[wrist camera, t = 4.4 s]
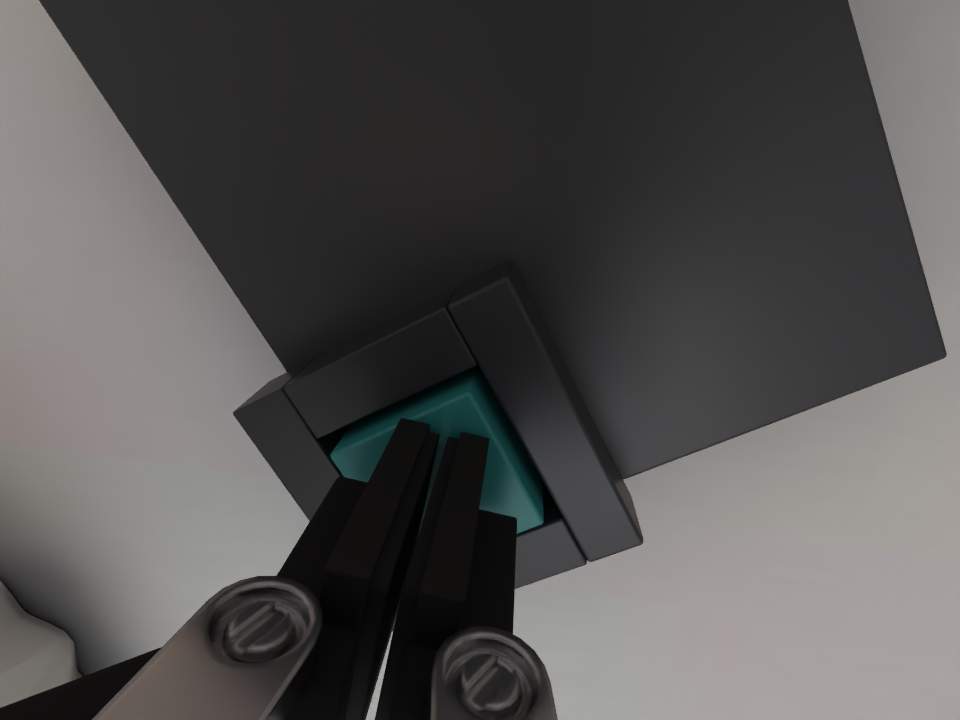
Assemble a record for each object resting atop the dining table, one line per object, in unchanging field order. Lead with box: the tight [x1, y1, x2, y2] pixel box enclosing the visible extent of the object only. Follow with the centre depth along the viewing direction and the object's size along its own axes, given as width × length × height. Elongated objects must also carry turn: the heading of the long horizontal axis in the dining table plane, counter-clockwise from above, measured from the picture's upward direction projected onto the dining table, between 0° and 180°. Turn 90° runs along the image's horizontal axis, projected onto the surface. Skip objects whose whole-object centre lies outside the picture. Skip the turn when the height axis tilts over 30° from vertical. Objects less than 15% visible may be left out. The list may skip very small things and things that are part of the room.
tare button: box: [331, 363, 544, 535], centre depth 11 cm, size 3×3×2 cm
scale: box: [39, 0, 947, 631], centre depth 10 cm, size 14×12×4 cm
